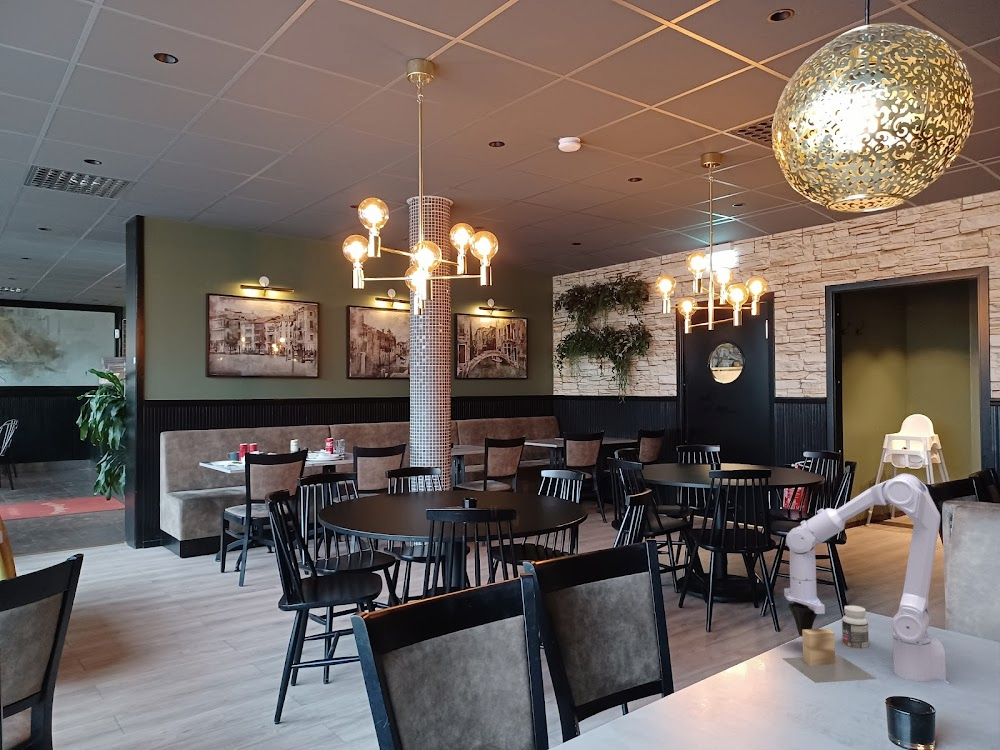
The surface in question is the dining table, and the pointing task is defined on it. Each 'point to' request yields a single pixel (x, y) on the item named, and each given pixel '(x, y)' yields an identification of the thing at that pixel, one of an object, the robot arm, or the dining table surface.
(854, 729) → the dining table surface
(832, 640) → the block
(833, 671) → the board
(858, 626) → the pill bottle
